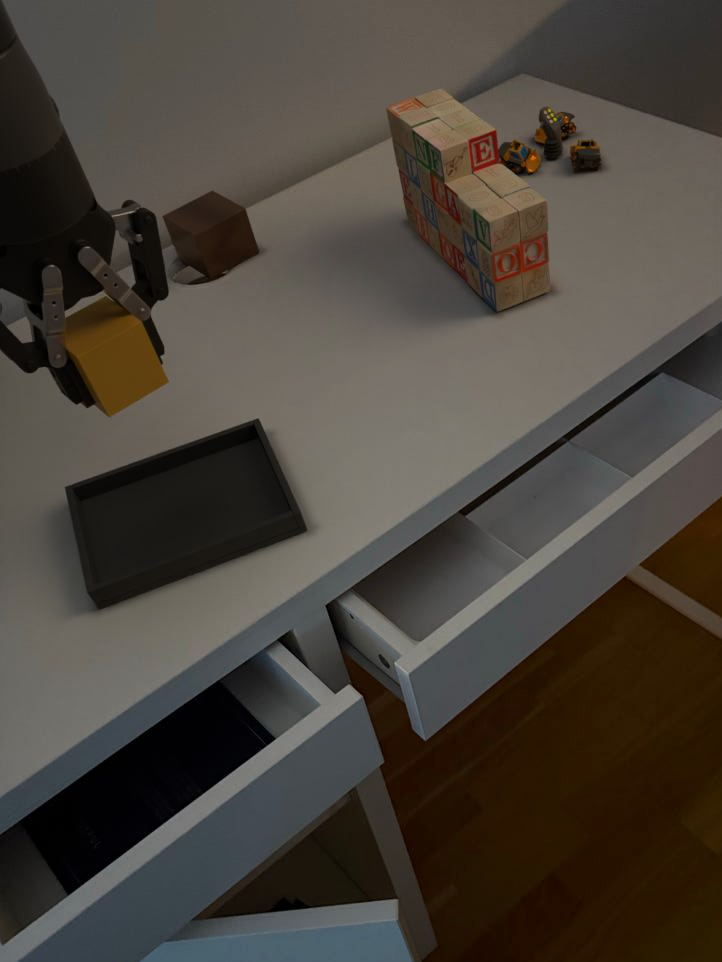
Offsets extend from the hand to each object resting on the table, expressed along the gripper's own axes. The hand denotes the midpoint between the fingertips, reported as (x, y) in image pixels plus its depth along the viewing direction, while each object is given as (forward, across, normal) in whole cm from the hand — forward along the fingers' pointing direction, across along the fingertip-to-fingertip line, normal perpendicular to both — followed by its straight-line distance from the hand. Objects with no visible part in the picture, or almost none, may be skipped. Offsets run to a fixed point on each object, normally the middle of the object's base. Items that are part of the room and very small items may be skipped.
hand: (119, 381), depth 67 cm
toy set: (+14, -61, -16) cm, 65 cm away
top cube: (0, 0, 0) cm, 0 cm away
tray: (+14, 0, 0) cm, 14 cm away
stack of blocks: (+14, -42, -9) cm, 45 cm away
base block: (+14, -25, -33) cm, 43 cm away
